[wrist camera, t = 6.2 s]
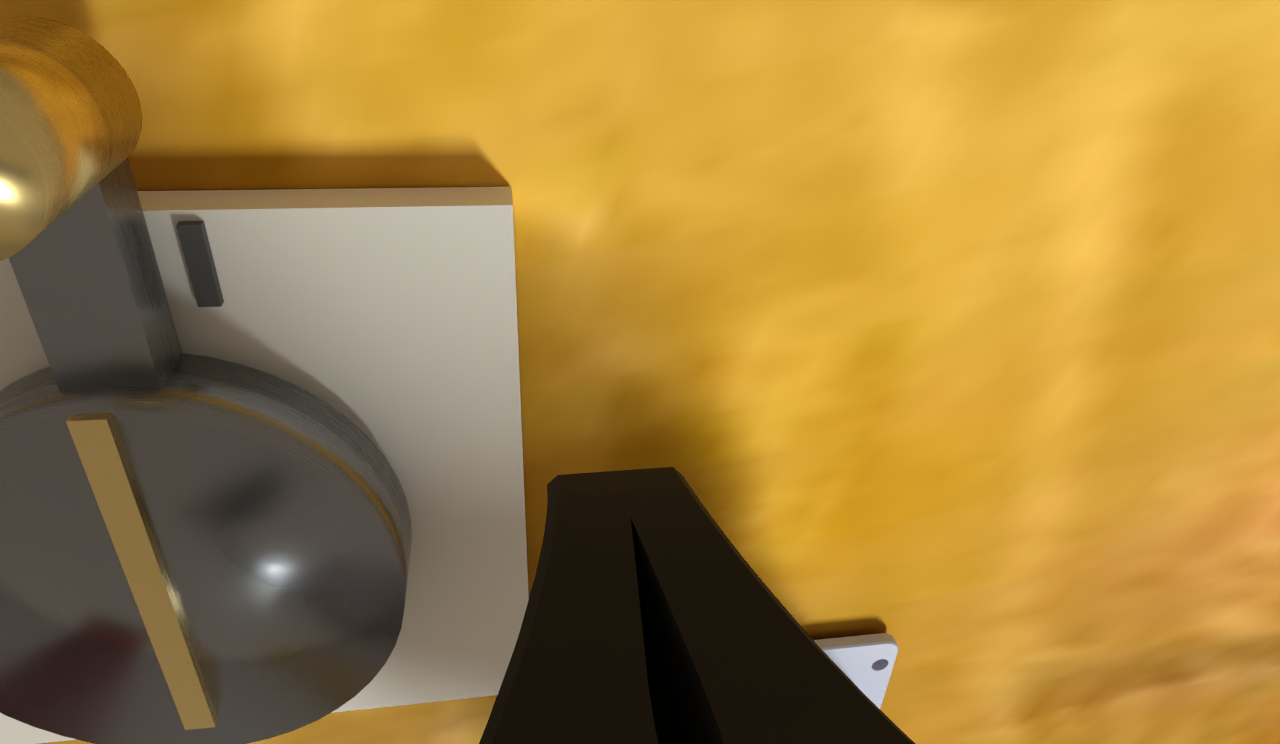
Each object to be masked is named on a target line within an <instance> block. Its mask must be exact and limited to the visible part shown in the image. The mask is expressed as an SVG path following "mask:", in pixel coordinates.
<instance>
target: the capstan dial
mask: <svg viewBox="0 0 1280 744" xmlns="http://www.w3.org/2000/svg"><path fill="white" fill-rule="evenodd" d="M141 126H142V112H141V106H140V101H139V98H138V95H137V92H136V90H135V88H134V86H133V83H132V81H131V80H130V78H129V76H128V75H127V73H126V71H125V70H124V69H123V67H122V66H121V65H120V64H119V62H118V61H117V60H116V59H115V58H114V57H113V56H112V55H111V54H110V53H109V52H108V51H107V50H106V49H105V48H104V47H103V46H101V45H100V44H99V43H98V42H96V41H95V40H93V39H92V38H91V37H89V36H87V35H86V34H84V33H82V32H80V31H79V30H77V29H74V28H72V27H70V26H68V25H65V24H62V23H59V22H56V21H53V20H48V19H43V18H35V17H18V18H12V19H7V20H4V21H1V22H0V261H2V260H5V259H7V258H9V261H10V263H11V266H12V268H13V271H14V274H15V276H16V279H17V281H18V284H19V287H20V289H21V292H22V295H23V297H24V300H25V302H26V305H27V308H28V310H29V313H30V315H31V318H32V321H33V323H34V326H35V329H36V331H37V334H38V336H39V339H40V342H41V344H42V347H43V349H44V352H45V355H46V357H47V360H48V363H49V365H50V367H47V368H44V369H41V370H38V371H36V372H34V373H32V374H29V375H27V376H25V377H23V378H21V379H19V380H17V381H15V382H13V383H11V384H9V385H8V386H6V387H5V388H4V389H2V390H1V391H0V713H2V714H4V715H6V716H8V717H11V718H13V719H16V720H18V721H20V722H23V723H25V724H28V725H30V726H33V727H36V728H39V729H42V730H45V731H48V732H52V733H55V734H58V735H61V736H64V737H69V738H73V739H77V740H82V741H86V742H90V743H95V744H247V743H251V742H256V741H260V740H264V739H269V738H272V737H275V736H278V735H281V734H284V733H287V732H290V731H293V730H296V729H298V728H300V727H303V726H305V725H307V724H310V723H312V722H314V721H317V720H318V719H320V718H322V717H324V716H326V715H327V714H329V713H331V712H333V711H335V710H336V709H338V708H339V707H341V706H342V705H344V704H345V703H346V702H348V701H349V700H351V699H352V698H353V697H355V696H356V695H357V694H358V693H359V692H360V691H361V690H362V689H364V688H365V687H366V686H367V685H368V684H369V683H370V682H371V681H372V680H373V679H374V677H375V676H376V675H377V674H378V672H379V671H380V670H381V669H382V667H383V666H384V665H385V663H386V662H387V660H388V658H389V656H390V654H391V653H392V651H393V649H394V647H395V645H396V642H397V639H398V636H399V633H400V631H401V628H402V621H403V614H404V607H405V598H406V589H407V579H408V570H409V561H410V552H411V542H412V531H411V517H410V512H409V508H408V503H407V499H406V496H405V494H404V491H403V489H402V486H401V484H400V481H399V479H398V477H397V476H396V474H395V472H394V471H393V469H392V467H391V466H390V464H389V462H388V461H387V459H386V458H385V456H384V455H383V454H382V453H381V451H380V450H379V449H378V448H377V446H376V445H375V444H374V443H373V442H372V440H371V439H370V438H369V437H368V436H367V435H366V434H365V433H364V432H363V431H362V430H360V429H359V428H358V427H357V426H356V425H355V424H354V423H353V422H352V421H351V420H350V419H348V418H347V417H346V416H344V415H343V414H342V413H340V412H339V411H338V410H336V409H335V408H333V407H332V406H331V405H329V404H328V403H327V402H325V401H323V400H321V399H320V398H318V397H316V396H315V395H313V394H311V393H309V392H308V391H306V390H304V389H302V388H301V387H299V386H296V385H294V384H292V383H290V382H287V381H285V380H283V379H281V378H278V377H276V376H274V375H272V374H269V373H266V372H263V371H260V370H257V369H254V368H251V367H248V366H245V365H242V364H239V363H234V362H230V361H225V360H221V359H216V358H212V357H207V356H201V355H193V354H184V353H182V350H181V346H180V342H179V339H178V335H177V332H176V328H175V325H174V321H173V317H172V314H171V310H170V307H169V303H168V300H167V296H166V293H165V289H164V285H163V282H162V278H161V275H160V271H159V268H158V264H157V260H156V257H155V253H154V250H153V246H152V243H151V239H150V235H149V232H148V228H147V225H146V221H145V218H144V214H143V210H142V207H141V203H140V200H139V196H138V193H137V189H136V186H135V182H134V178H133V175H132V171H131V168H130V164H129V161H128V156H129V155H130V154H131V153H132V151H133V150H134V148H135V146H136V144H137V142H138V140H139V136H140V133H141Z"/></svg>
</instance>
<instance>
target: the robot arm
mask: <svg viewBox="0 0 1280 744" xmlns="http://www.w3.org/2000/svg"><path fill="white" fill-rule="evenodd" d="M547 493H548V507H547V519H546V526H545V533H544V539H543V544H542V549H541V553H540V558H539V563H538V567H537V572H536V576H535V579H534V583H533V587H532V590H531V594H530V597H529V601H528V604H527V608H526V611H525V615H524V618H523V622H522V625H521V629H520V632H519V636H518V639H517V642H516V645H515V648H514V651H513V654H512V657H511V659H510V662H509V665H508V668H507V670H506V673H505V676H504V679H503V681H502V684H501V687H500V690H499V692H498V695H497V698H496V701H495V704H494V706H493V709H492V712H491V715H490V717H489V720H488V723H487V725H486V728H485V730H484V733H483V735H482V738H481V740H480V743H479V744H915V743H914V742H913V741H912V740H911V739H910V738H909V737H908V736H907V735H906V734H904V733H903V732H902V731H901V730H900V729H899V728H898V727H897V726H896V725H895V724H894V723H893V722H892V721H891V720H890V719H889V718H888V717H887V716H886V715H885V714H884V713H883V712H882V711H881V710H880V708H881V705H882V702H883V699H884V695H885V692H886V689H887V686H888V682H889V679H890V676H891V673H892V669H893V666H894V663H895V660H896V657H897V653H898V645H897V643H896V641H895V639H894V638H893V636H892V635H889V634H886V633H879V634H869V635H859V636H849V637H839V638H829V639H819V640H813V639H812V638H811V637H810V636H809V635H808V634H807V633H806V631H805V630H804V629H803V628H802V627H801V626H800V625H799V624H798V623H797V621H796V620H795V619H794V618H793V617H792V616H791V614H790V613H789V612H788V611H787V610H786V608H785V607H784V606H783V605H782V604H781V603H780V601H779V600H778V599H777V598H776V597H775V596H774V594H773V593H772V592H771V591H770V590H769V589H768V587H767V586H766V585H765V584H764V583H763V582H762V580H761V579H760V578H759V577H758V576H757V574H756V573H755V572H754V571H753V570H752V568H751V567H750V566H749V565H748V563H747V562H746V561H745V560H744V558H743V557H742V556H741V555H740V553H739V552H738V551H737V549H736V548H735V547H734V546H733V544H732V543H731V542H730V540H729V539H728V538H727V537H726V535H725V534H724V533H723V531H722V530H721V529H720V527H719V526H718V525H717V523H716V522H715V521H714V519H713V518H712V517H711V515H710V514H709V513H708V511H707V510H706V509H705V507H704V506H703V504H702V503H701V502H700V500H699V499H698V497H697V496H696V495H695V493H694V492H693V490H692V489H691V487H690V486H689V484H688V483H687V482H686V480H685V479H684V477H683V476H682V475H681V474H680V473H679V472H678V471H677V470H676V469H675V468H673V467H667V468H653V469H638V470H624V471H610V472H596V473H581V474H567V475H558V476H556V477H555V478H554V479H553V480H552V481H551V482H550V483H549V484H547Z"/></svg>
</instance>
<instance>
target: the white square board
mask: <svg viewBox="0 0 1280 744" xmlns="http://www.w3.org/2000/svg"><path fill="white" fill-rule="evenodd" d="M137 193H138V196H139V200H140V203H141V207H142V210H143V214H144V218H145V221H146V225H147V228H148V232H149V235H150V239H151V243H152V246H153V250H154V253H155V257H156V260H157V264H158V268H159V271H160V275H161V278H162V282H163V285H164V289H165V293H166V296H167V300H168V303H169V307H170V310H171V314H172V317H173V321H174V325H175V328H176V332H177V335H178V339H179V342H180V346H181V350H182V353H184V354H193V355H201V356H207V357H212V358H216V359H221V360H225V361H230V362H234V363H239V364H242V365H245V366H248V367H251V368H254V369H257V370H260V371H263V372H266V373H269V374H272V375H274V376H276V377H278V378H281V379H283V380H285V381H287V382H290V383H292V384H294V385H296V386H299V387H301V388H302V389H304V390H306V391H308V392H309V393H311V394H313V395H315V396H316V397H318V398H320V399H321V400H323V401H325V402H327V403H328V404H329V405H331V406H332V407H333V408H335V409H336V410H338V411H339V412H340V413H342V414H343V415H344V416H346V417H347V418H348V419H350V420H351V421H352V422H353V423H354V424H355V425H356V426H357V427H358V428H359V429H360V430H362V431H363V432H364V433H365V434H366V435H367V436H368V437H369V438H370V439H371V440H372V442H373V443H374V444H375V445H376V446H377V448H378V449H379V450H380V451H381V453H382V454H383V455H384V456H385V458H386V459H387V461H388V462H389V464H390V466H391V467H392V469H393V471H394V472H395V474H396V476H397V477H398V479H399V481H400V484H401V486H402V489H403V491H404V494H405V496H406V499H407V503H408V508H409V512H410V517H411V531H412V542H411V552H410V561H409V570H408V579H407V589H406V598H405V607H404V614H403V621H402V628H401V631H400V633H399V636H398V639H397V642H396V645H395V647H394V649H393V651H392V653H391V654H390V656H389V658H388V660H387V662H386V663H385V665H384V666H383V667H382V669H381V670H380V671H379V672H378V674H377V675H376V676H375V677H374V679H373V680H372V681H371V682H370V683H369V684H368V685H367V686H366V687H365V688H364V689H362V690H361V691H360V692H359V693H358V694H357V695H356V696H355V697H353V698H352V699H351V700H349V701H348V702H346V703H345V704H344V705H342V706H341V707H339V708H338V709H336V710H335V711H333V712H342V711H352V710H361V709H371V708H380V707H390V706H399V705H409V704H418V703H428V702H437V701H447V700H456V699H466V698H475V697H485V696H494V695H498V692H499V690H500V687H501V684H502V681H503V679H504V676H505V673H506V670H507V668H508V665H509V662H510V659H511V657H512V654H513V651H514V648H515V645H516V642H517V639H518V636H519V632H520V629H521V625H522V622H523V618H524V615H525V611H526V608H527V604H528V601H529V593H528V569H527V544H526V520H525V496H524V471H523V447H522V422H521V398H520V374H519V349H518V325H517V301H516V276H515V252H514V228H513V204H512V190H511V187H436V188H354V189H273V190H191V191H137ZM47 367H50V365H49V363H48V360H47V357H46V355H45V352H44V349H43V347H42V344H41V342H40V339H39V336H38V334H37V331H36V329H35V326H34V323H33V321H32V318H31V315H30V313H29V310H28V308H27V305H26V302H25V300H24V297H23V295H22V292H21V289H20V287H19V284H18V281H17V279H16V276H15V274H14V271H13V268H12V266H11V263H10V261H9V258H7V259H5V260H2V261H0V391H1V390H2V389H4V388H5V387H6V386H8V385H9V384H11V383H13V382H15V381H17V380H19V379H21V378H23V377H25V376H27V375H29V374H32V373H34V372H36V371H38V370H41V369H44V368H47ZM333 712H331V713H333ZM66 740H76V739H73V738H69V737H64V736H61V735H58V734H55V733H52V732H48V731H45V730H42V729H39V728H36V727H33V726H30V725H28V724H25V723H23V722H20V721H18V720H16V719H13V718H11V717H8V716H6V715H4V714H2V713H0V744H38V743H47V742H57V741H66Z"/></svg>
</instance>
